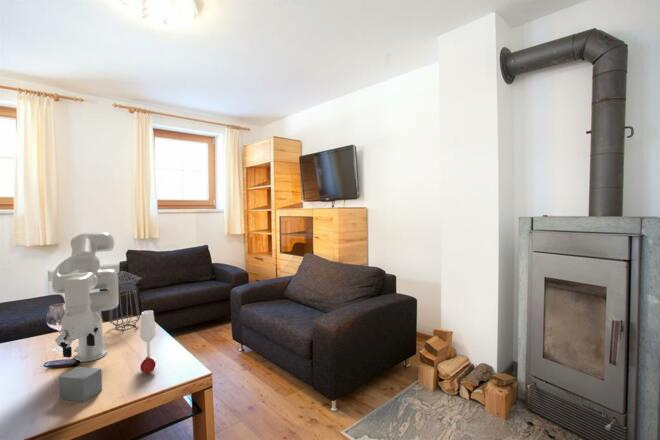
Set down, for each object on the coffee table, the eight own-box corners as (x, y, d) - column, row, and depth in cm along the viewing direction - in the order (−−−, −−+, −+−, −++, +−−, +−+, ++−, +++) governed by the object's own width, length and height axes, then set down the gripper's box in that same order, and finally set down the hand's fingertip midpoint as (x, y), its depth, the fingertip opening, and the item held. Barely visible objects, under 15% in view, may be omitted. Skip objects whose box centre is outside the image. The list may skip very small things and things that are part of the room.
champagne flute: (149, 365, 147) (148, 315, 146) (137, 364, 149) (135, 314, 148) (160, 358, 154) (158, 310, 153) (148, 357, 155) (146, 309, 154)
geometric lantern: (118, 334, 184) (114, 274, 182) (105, 329, 192) (101, 272, 190) (145, 325, 197) (142, 269, 196) (132, 321, 205) (129, 267, 204)
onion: (144, 370, 143) (144, 353, 142) (158, 370, 143) (157, 353, 143) (138, 377, 137) (137, 359, 137) (151, 377, 138) (151, 359, 137)
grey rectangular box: (59, 398, 122) (58, 376, 122) (78, 387, 130) (77, 366, 129) (84, 401, 120) (83, 379, 120) (102, 390, 128) (101, 368, 128)
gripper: (89, 301, 133) (91, 341, 134) (46, 315, 116) (48, 361, 117) (105, 302, 132) (106, 342, 133) (63, 316, 115) (65, 362, 116)
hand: (79, 351), depth 125 cm, fingers open, 9 cm apart
